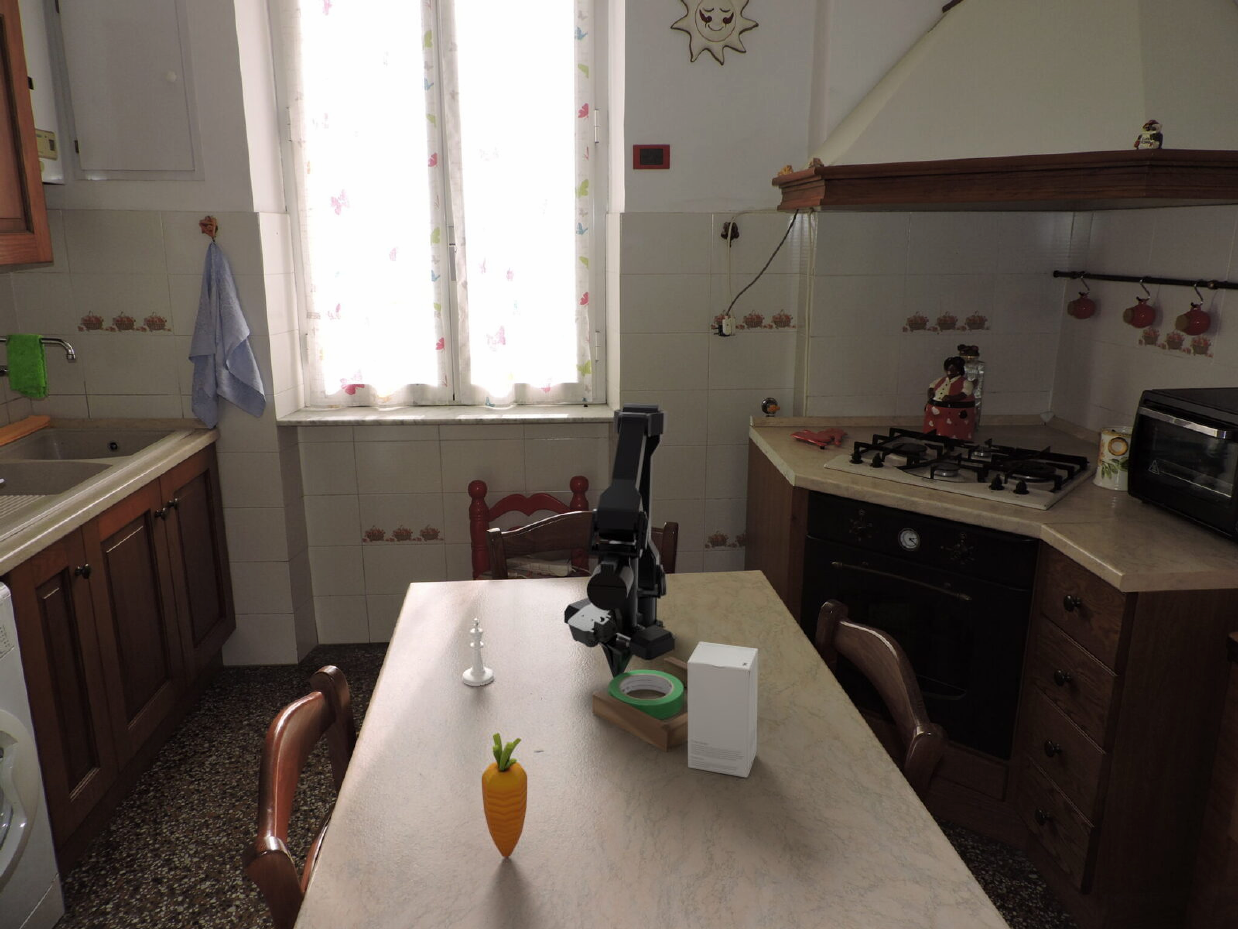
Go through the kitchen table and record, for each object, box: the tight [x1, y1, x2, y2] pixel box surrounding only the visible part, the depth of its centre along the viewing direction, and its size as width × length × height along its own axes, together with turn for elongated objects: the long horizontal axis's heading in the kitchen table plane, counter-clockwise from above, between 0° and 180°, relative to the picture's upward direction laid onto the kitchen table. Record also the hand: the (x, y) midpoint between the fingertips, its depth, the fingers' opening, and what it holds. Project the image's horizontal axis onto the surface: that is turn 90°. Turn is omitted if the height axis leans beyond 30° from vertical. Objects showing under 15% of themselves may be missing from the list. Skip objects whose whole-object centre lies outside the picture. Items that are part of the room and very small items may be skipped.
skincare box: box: [687, 641, 759, 778], centre depth 120 cm, size 8×7×16 cm
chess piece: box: [461, 618, 495, 687], centre depth 142 cm, size 5×5×10 cm
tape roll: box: [608, 669, 685, 721], centre depth 136 cm, size 11×11×3 cm
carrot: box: [481, 732, 528, 859], centre depth 101 cm, size 5×5×15 cm
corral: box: [591, 656, 688, 753], centre depth 134 cm, size 17×14×3 cm
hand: (617, 678), depth 141 cm, fingers closed
